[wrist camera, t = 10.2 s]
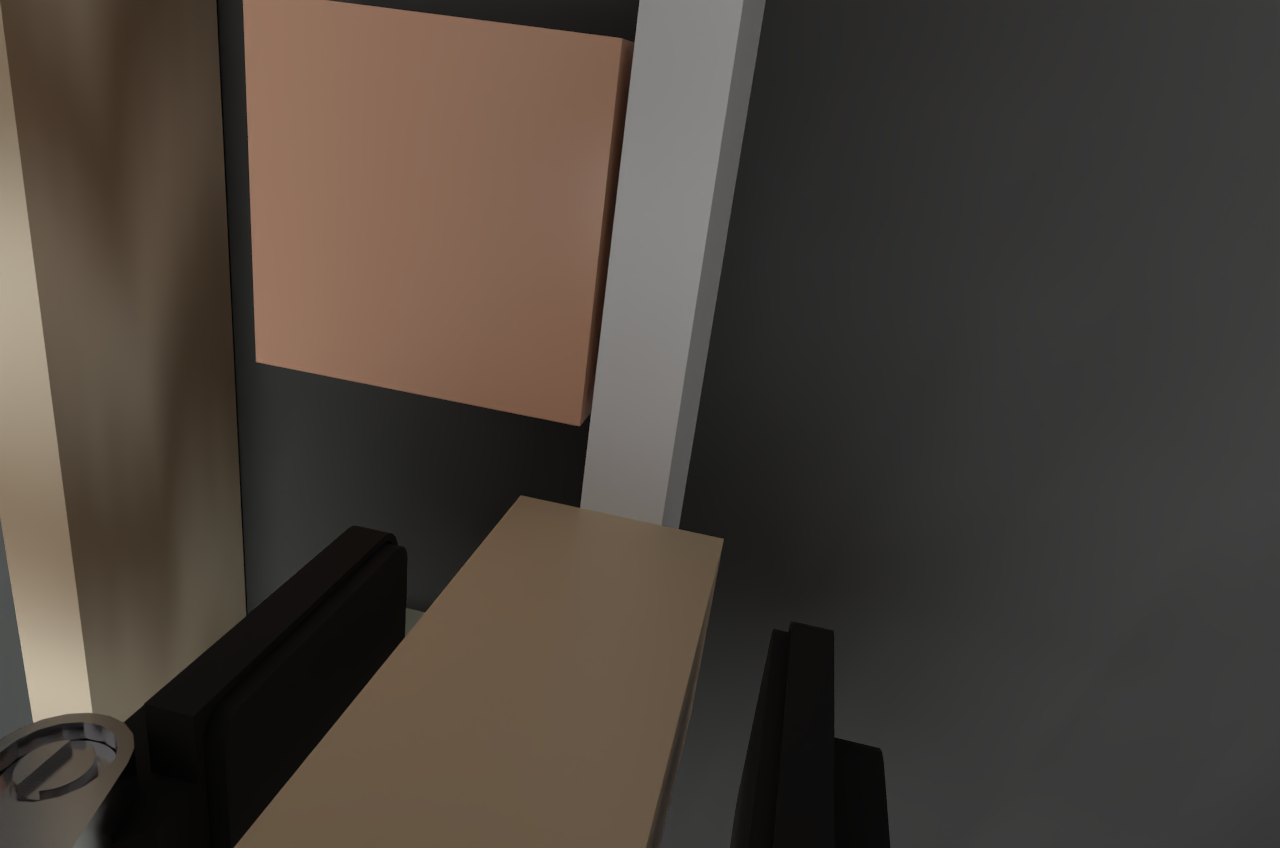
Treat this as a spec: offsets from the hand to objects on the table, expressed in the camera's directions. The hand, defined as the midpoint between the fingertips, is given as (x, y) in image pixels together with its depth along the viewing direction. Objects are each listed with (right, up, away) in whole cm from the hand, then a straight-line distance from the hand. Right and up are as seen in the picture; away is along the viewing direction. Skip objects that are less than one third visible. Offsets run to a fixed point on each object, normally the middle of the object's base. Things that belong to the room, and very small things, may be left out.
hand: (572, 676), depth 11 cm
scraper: (+1, +2, +4) cm, 5 cm away
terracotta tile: (-1, +7, +3) cm, 8 cm away
